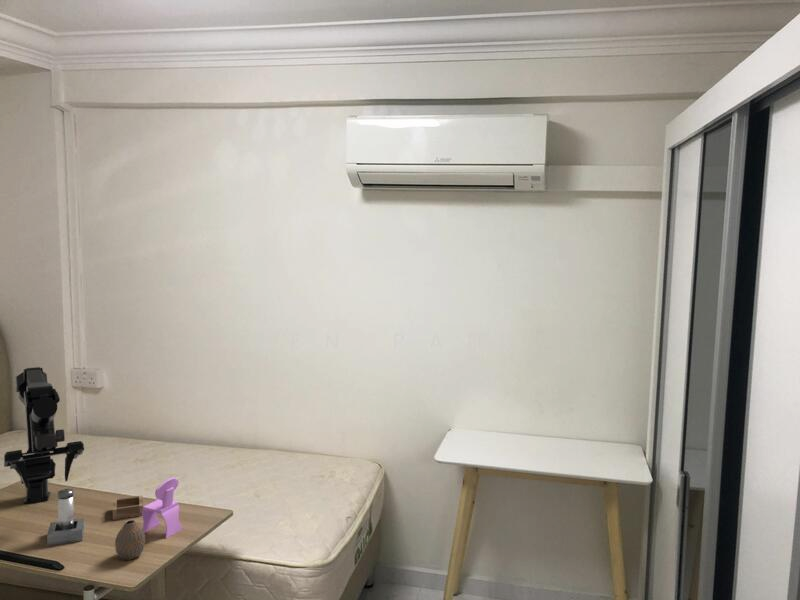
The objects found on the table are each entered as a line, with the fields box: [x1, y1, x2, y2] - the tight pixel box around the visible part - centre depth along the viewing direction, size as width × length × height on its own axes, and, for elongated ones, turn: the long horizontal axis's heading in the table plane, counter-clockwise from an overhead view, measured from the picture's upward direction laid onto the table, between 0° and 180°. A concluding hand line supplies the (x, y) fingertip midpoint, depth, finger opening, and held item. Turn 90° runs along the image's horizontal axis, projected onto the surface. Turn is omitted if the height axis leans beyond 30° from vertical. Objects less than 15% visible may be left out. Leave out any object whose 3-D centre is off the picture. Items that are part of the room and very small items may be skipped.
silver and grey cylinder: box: [57, 488, 75, 531], centre depth 159 cm, size 4×4×12 cm
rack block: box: [112, 495, 144, 521], centre depth 175 cm, size 8×8×3 cm
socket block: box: [46, 517, 85, 547], centre depth 159 cm, size 8×8×3 cm
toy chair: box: [142, 477, 184, 539], centre depth 164 cm, size 8×9×15 cm
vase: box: [114, 519, 146, 561], centre depth 150 cm, size 7×7×9 cm
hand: (47, 484), depth 162 cm, fingers open, 9 cm apart
